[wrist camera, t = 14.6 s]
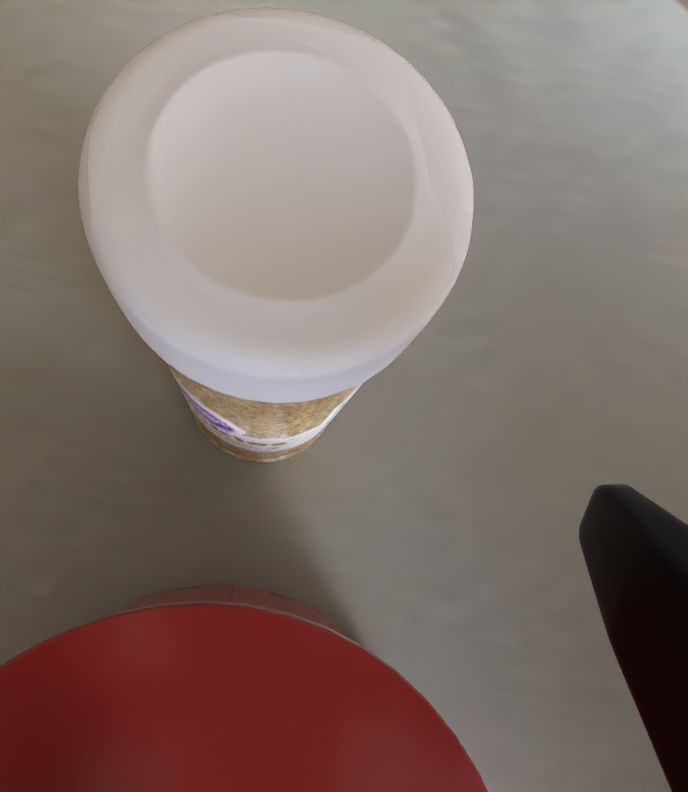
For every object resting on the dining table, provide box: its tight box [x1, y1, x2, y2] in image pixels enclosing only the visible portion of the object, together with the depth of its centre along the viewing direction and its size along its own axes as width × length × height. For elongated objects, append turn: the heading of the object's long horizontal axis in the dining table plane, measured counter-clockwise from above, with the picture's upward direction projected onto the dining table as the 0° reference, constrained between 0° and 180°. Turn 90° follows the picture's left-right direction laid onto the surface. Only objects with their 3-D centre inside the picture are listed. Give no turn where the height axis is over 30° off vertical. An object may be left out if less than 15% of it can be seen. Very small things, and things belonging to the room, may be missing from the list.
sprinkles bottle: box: [78, 8, 474, 463], centre depth 14 cm, size 5×5×14 cm
